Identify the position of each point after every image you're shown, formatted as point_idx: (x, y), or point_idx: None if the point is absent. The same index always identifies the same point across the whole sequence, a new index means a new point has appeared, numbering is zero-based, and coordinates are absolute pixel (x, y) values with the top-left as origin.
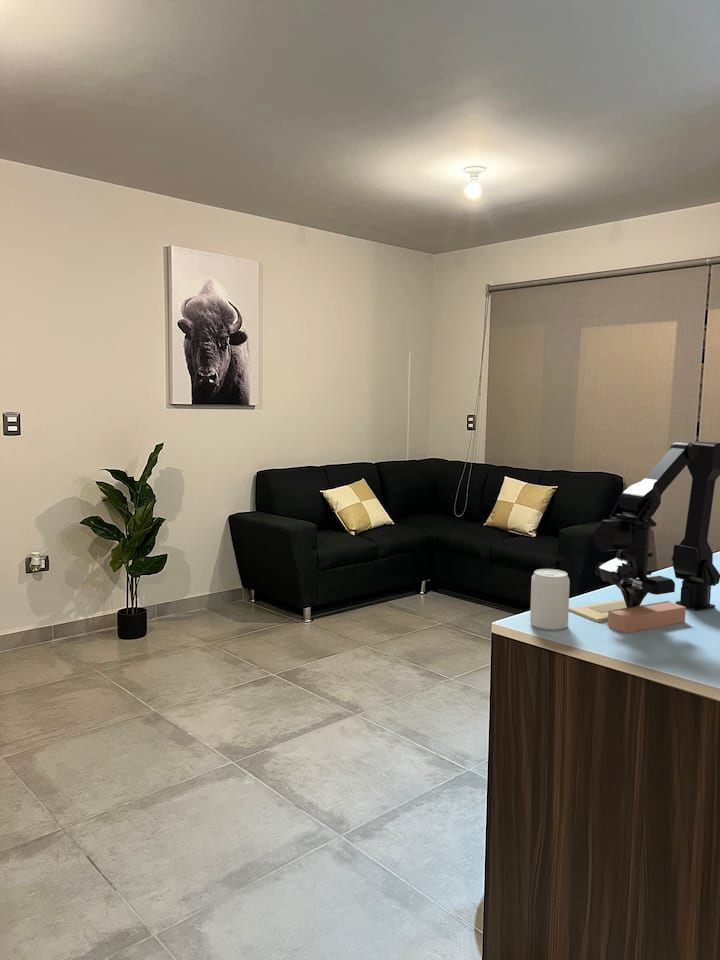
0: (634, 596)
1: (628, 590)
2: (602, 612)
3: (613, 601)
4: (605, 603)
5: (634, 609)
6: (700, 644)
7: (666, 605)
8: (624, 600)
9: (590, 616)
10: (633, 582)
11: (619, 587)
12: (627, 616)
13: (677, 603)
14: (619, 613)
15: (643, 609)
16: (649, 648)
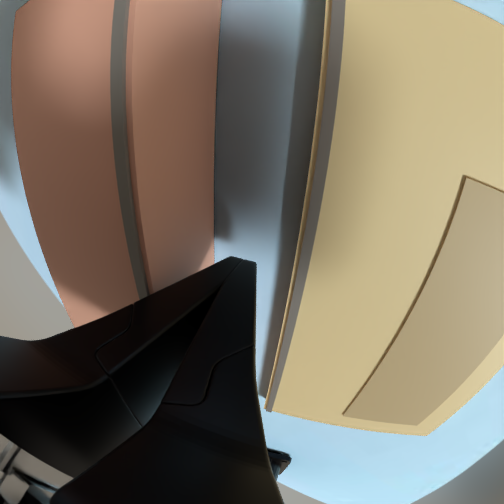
0: (59, 334)
1: (22, 377)
2: (459, 191)
3: (463, 401)
4: (492, 363)
5: (93, 214)
6: (4, 198)
7: None
8: (424, 427)
9: (444, 5)
10: (15, 486)
11: (219, 497)
12: (16, 33)
13: (282, 457)
14: (60, 4)
15: (87, 267)
16: (4, 29)
